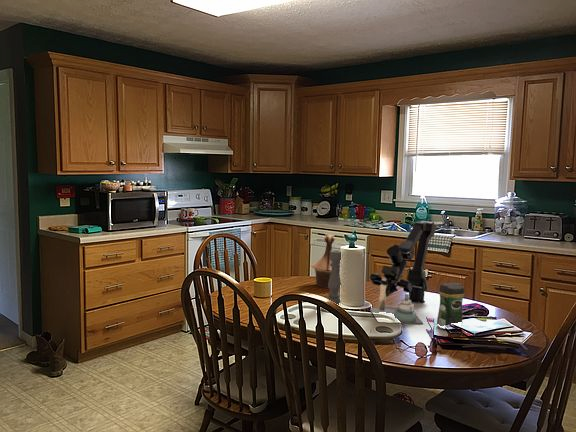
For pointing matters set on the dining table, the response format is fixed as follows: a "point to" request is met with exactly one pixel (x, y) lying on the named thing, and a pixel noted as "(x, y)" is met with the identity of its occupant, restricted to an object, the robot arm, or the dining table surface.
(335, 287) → the candle holder
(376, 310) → the mat
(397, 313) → the teal round piece
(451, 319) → the coffee jar
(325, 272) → the brown tall piece
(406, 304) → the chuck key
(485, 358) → the dining table surface
